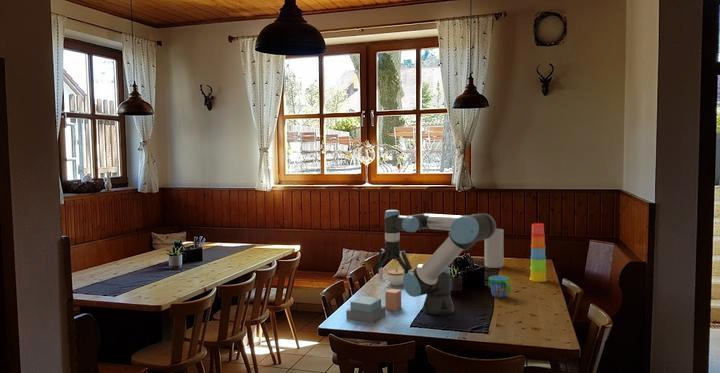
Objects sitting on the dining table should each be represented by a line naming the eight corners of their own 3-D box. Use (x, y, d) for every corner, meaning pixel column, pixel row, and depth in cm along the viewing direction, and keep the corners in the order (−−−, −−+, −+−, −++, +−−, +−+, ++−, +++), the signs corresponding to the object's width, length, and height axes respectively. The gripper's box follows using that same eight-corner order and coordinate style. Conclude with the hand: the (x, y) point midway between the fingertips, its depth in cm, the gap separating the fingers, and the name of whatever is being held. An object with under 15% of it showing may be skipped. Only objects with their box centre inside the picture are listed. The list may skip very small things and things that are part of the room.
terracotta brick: (401, 307, 271) (401, 290, 271) (396, 310, 266) (396, 292, 266) (390, 305, 274) (390, 288, 274) (385, 309, 269) (385, 291, 268)
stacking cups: (550, 280, 319) (551, 223, 317) (537, 282, 315) (537, 225, 313) (539, 277, 329) (539, 221, 326) (525, 279, 325) (525, 222, 322)
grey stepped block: (385, 314, 260) (385, 298, 260) (372, 322, 248) (371, 305, 247) (360, 310, 267) (360, 294, 266) (346, 318, 255) (346, 302, 254)
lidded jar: (385, 285, 315) (385, 270, 314) (391, 281, 325) (390, 266, 324) (402, 287, 311) (402, 271, 310) (408, 283, 321) (407, 267, 320)
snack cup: (482, 293, 294) (482, 275, 294) (498, 291, 298) (498, 273, 297) (499, 300, 280) (499, 281, 279) (515, 298, 283) (516, 279, 283)
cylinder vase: (481, 265, 365) (481, 229, 364) (497, 263, 369) (497, 228, 367) (490, 269, 353) (490, 231, 352) (507, 267, 357) (507, 230, 355)
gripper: (418, 241, 265) (418, 283, 267) (374, 237, 277) (374, 277, 279) (412, 243, 259) (412, 286, 260) (367, 239, 271) (367, 280, 272)
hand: (392, 281), depth 270 cm, fingers open, 13 cm apart
